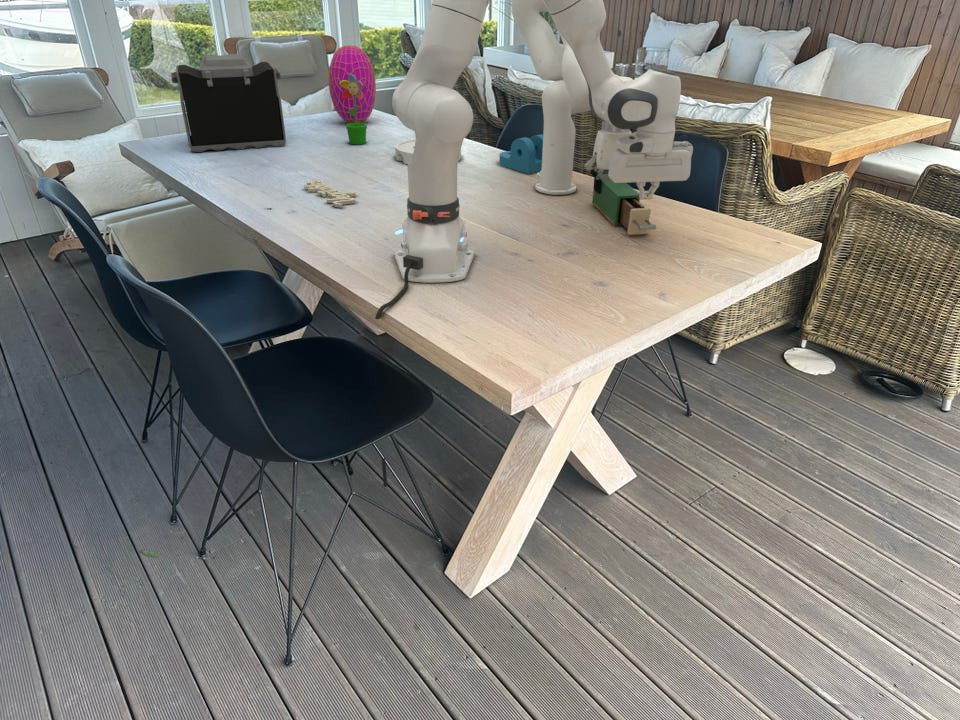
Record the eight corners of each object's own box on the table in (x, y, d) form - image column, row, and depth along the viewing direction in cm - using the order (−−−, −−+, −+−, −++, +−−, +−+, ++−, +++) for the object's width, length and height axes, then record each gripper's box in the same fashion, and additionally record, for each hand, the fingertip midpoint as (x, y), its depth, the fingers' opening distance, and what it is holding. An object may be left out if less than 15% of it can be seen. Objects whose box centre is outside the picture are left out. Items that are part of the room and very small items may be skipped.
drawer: (655, 241, 174) (659, 216, 170) (636, 242, 173) (640, 217, 169) (622, 210, 192) (625, 187, 189) (605, 211, 191) (608, 188, 188)
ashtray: (454, 167, 232) (454, 155, 230) (388, 164, 235) (387, 152, 233) (466, 151, 252) (466, 140, 250) (404, 148, 255) (404, 137, 253)
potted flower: (342, 144, 260) (336, 73, 247) (351, 139, 266) (346, 70, 254) (365, 146, 257) (360, 74, 245) (374, 141, 264) (369, 71, 251)
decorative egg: (362, 116, 305) (357, 42, 290) (386, 123, 292) (382, 46, 277) (324, 121, 294) (316, 45, 279) (347, 129, 281) (340, 49, 266)
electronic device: (283, 133, 274) (272, 51, 259) (291, 146, 256) (280, 59, 241) (185, 140, 262) (168, 54, 247) (186, 153, 245) (167, 62, 229)
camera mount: (550, 168, 233) (552, 137, 227) (527, 173, 227) (529, 141, 222) (515, 157, 245) (516, 127, 239) (493, 162, 239) (493, 131, 234)
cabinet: (636, 224, 186) (640, 194, 181) (614, 226, 184) (618, 196, 180) (612, 201, 201) (615, 173, 196) (591, 202, 200) (594, 174, 195)
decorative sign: (368, 198, 199) (337, 205, 193) (368, 202, 199) (337, 208, 194) (326, 178, 217) (297, 183, 211) (326, 181, 217) (297, 186, 212)
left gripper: (688, 138, 168) (678, 193, 175) (609, 139, 165) (603, 196, 171) (700, 144, 163) (690, 201, 170) (619, 146, 159) (612, 204, 166)
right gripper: (640, 122, 190) (632, 186, 199) (580, 124, 187) (575, 189, 196) (651, 127, 184) (642, 194, 193) (590, 130, 180) (584, 197, 189)
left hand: (645, 198), depth 171 cm, fingers closed
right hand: (609, 191), depth 194 cm, fingers closed on cabinet, 6 cm apart
